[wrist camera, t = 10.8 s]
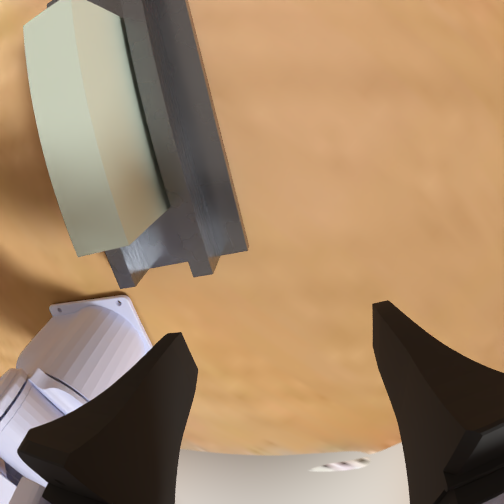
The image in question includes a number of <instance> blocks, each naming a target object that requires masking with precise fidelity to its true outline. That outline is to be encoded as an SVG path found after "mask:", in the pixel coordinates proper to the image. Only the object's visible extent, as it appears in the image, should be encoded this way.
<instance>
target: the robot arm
mask: <svg viewBox="0 0 504 504" xmlns="http://www.w3.org/2000/svg"><path fill="white" fill-rule="evenodd" d="M118 301H120V302H121V303H119V302H118ZM372 306H373V349H374V353H375V357H376V361H377V365H378V369H379V372H380V374H381V377H382V380H383V382H384V385H385V388H386V390H387V393H388V396H389V398H390V401H391V404H392V407H393V410H394V412H395V415H396V419H397V422H398V426H399V430H400V435H401V440H402V445H403V451H404V456H405V463H406V470H407V477H408V485H409V495H410V504H504V373H502V372H499V371H496V370H494V369H491V368H488V367H486V366H484V365H482V364H479V363H477V362H475V361H473V360H471V359H469V358H467V357H465V356H463V355H461V354H459V353H458V352H456V351H454V350H452V349H451V348H449V347H447V346H446V345H444V344H443V343H441V342H440V341H438V340H437V339H435V338H434V337H433V336H431V335H430V334H429V333H427V332H426V331H425V330H423V329H422V328H421V327H420V326H418V325H417V324H416V323H414V322H413V321H412V320H411V319H410V318H408V317H407V316H406V315H405V314H404V313H403V312H401V311H400V310H399V309H398V308H397V307H396V306H394V305H393V304H392V303H391V302H390V301H383V302H379V303H374V304H372ZM49 310H50V312H51V314H52V316H53V317H52V318H51V319H50V320H49V321H48V322H47V323H46V324H45V326H44V327H43V328H42V329H41V330H40V331H39V332H38V333H37V335H36V336H35V337H34V338H33V339H32V340H31V341H30V343H29V344H28V345H27V346H26V347H25V348H24V350H23V351H22V352H21V354H20V355H19V357H18V360H17V364H16V369H13V368H11V369H9V370H8V371H7V372H5V373H4V374H3V375H2V376H1V377H0V504H175V487H176V476H177V466H178V459H179V452H180V446H181V441H182V437H183V433H184V430H185V426H186V423H187V419H188V416H189V412H190V409H191V405H192V402H193V398H194V394H195V390H196V383H197V374H198V368H197V366H196V364H195V362H194V360H193V357H192V355H191V353H190V351H189V349H188V346H187V344H186V342H185V340H184V337H183V335H182V333H181V332H179V333H168V334H166V335H165V336H164V337H163V338H162V339H161V340H160V341H158V342H157V343H156V344H155V345H154V346H152V344H151V342H150V340H149V338H148V336H147V334H146V332H145V330H144V328H143V326H142V323H141V321H140V319H139V317H138V315H137V313H136V311H135V309H134V306H133V304H132V302H131V300H130V298H129V297H128V296H126V295H118V296H111V297H104V298H97V299H89V300H82V301H74V302H67V303H59V304H52V305H51V306H50V307H49Z"/></svg>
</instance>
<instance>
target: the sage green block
mask: <svg viewBox="0 0 504 504" xmlns="http://www.w3.org/2000/svg"><path fill="white" fill-rule="evenodd" d="M23 31H24V45H25V55H26V64H27V72H28V79H29V86H30V92H31V98H32V104H33V109H34V114H35V119H36V124H37V129H38V133H39V138H40V142H41V146H42V150H43V154H44V158H45V161H46V165H47V169H48V172H49V176H50V179H51V183H52V186H53V189H54V192H55V195H56V199H57V202H58V205H59V208H60V211H61V213H62V216H63V219H64V222H65V225H66V228H67V230H68V233H69V236H70V238H71V241H72V243H73V246H74V249H75V251H76V254H77V256H78V257H81V256H85V255H90V254H94V253H98V252H103V251H107V250H111V249H116V248H120V247H125V246H129V245H130V244H131V243H132V242H133V241H134V240H135V239H137V238H138V237H139V236H140V235H141V234H142V233H143V232H144V231H145V230H146V229H147V228H148V227H149V226H150V225H151V224H153V223H154V222H155V221H156V220H157V219H158V218H159V217H160V216H161V215H162V214H163V213H165V212H166V211H167V210H168V209H169V208H170V207H171V206H170V203H169V200H168V196H167V193H166V190H165V186H164V183H163V179H162V176H161V172H160V169H159V165H158V162H157V158H156V154H155V151H154V147H153V143H152V140H151V136H150V132H149V128H148V124H147V120H146V117H145V113H144V109H143V104H142V100H141V96H140V92H139V88H138V84H137V79H136V75H135V70H134V66H133V61H132V57H131V52H130V47H129V42H128V37H127V32H126V27H125V22H124V19H123V18H121V17H119V16H118V15H116V14H114V13H112V12H110V11H108V10H106V9H104V8H102V7H100V6H98V5H95V4H93V3H91V2H89V1H87V0H59V1H57V2H56V3H54V4H53V5H51V6H50V7H48V8H47V9H46V10H44V11H43V12H41V13H40V14H39V15H37V16H36V17H34V18H33V19H32V20H30V21H29V22H28V23H27V24H25V25H24V26H23Z"/></svg>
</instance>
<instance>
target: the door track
mask: <svg viewBox="0 0 504 504" xmlns="http://www.w3.org/2000/svg"><path fill="white" fill-rule="evenodd" d="M57 1H59V0H52V1H51V2H49V3H48V4H47V8H48V7H50V6H51V5H53V4H54V3H56V2H57ZM87 1H89V2H91V3H93V4H95V5H98V6H100V7H102V8H104V9H106V10H108V11H110V12H112V13H114V14H116V15H118V16H119V17H121V18H123V19H124V22H125V27H126V32H127V37H128V42H129V47H130V52H131V57H132V61H133V66H134V70H135V75H136V79H137V84H138V88H139V92H140V96H141V100H142V104H143V109H144V113H145V117H146V120H147V124H148V128H149V132H150V136H151V140H152V143H153V147H154V151H155V154H156V158H157V162H158V165H159V169H160V172H161V176H162V179H163V183H164V186H165V190H166V193H167V196H168V200H169V203H170V206H171V207H170V208H169V209H168V210H167V211H166V212H165V213H163V214H162V215H161V216H160V217H159V218H158V219H157V220H156V221H155V222H154V223H153V224H151V225H150V226H149V227H148V228H147V229H146V230H145V231H144V232H143V233H142V234H141V235H140V236H139V237H138V238H137V239H135V240H134V241H133V242H132V243H131V244H130V245H129V246H125V247H120V248H116V249H111V250H107V251H105V253H106V256H107V258H108V261H109V263H110V266H111V268H112V270H113V273H114V275H115V278H116V280H117V282H118V285H119V287H120V289H123V288H129V287H136V285H137V284H138V283H139V281H140V280H141V279H142V277H143V276H144V275H145V273H146V272H147V271H148V270H149V268H155V267H160V266H166V265H171V264H177V263H182V262H189V265H190V268H191V271H192V274H193V277H198V276H204V275H210V274H213V273H214V270H215V268H216V265H217V263H218V260H219V258H220V256H221V255H227V254H232V253H238V252H243V251H248V247H249V244H248V240H247V236H246V232H245V228H244V224H243V220H242V216H241V212H240V208H239V204H238V200H237V196H236V192H235V188H234V184H233V180H232V176H231V172H230V168H229V164H228V160H227V156H226V152H225V148H224V144H223V140H222V136H221V132H220V128H219V124H218V120H217V116H216V112H215V108H214V104H213V100H212V96H211V92H210V88H209V84H208V80H207V76H206V72H205V68H204V64H203V60H202V56H201V52H200V48H199V44H198V40H197V36H196V32H195V28H194V24H193V20H192V16H191V12H190V8H189V4H188V0H87Z"/></svg>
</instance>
